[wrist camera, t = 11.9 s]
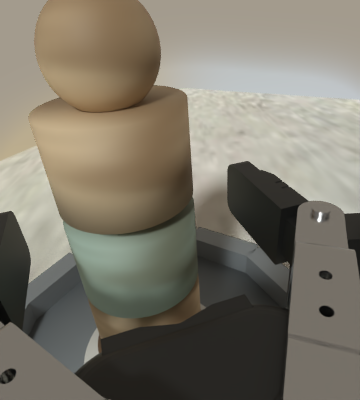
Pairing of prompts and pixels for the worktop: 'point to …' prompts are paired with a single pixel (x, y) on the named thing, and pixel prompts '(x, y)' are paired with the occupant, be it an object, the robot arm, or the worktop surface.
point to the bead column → (118, 162)
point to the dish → (208, 286)
